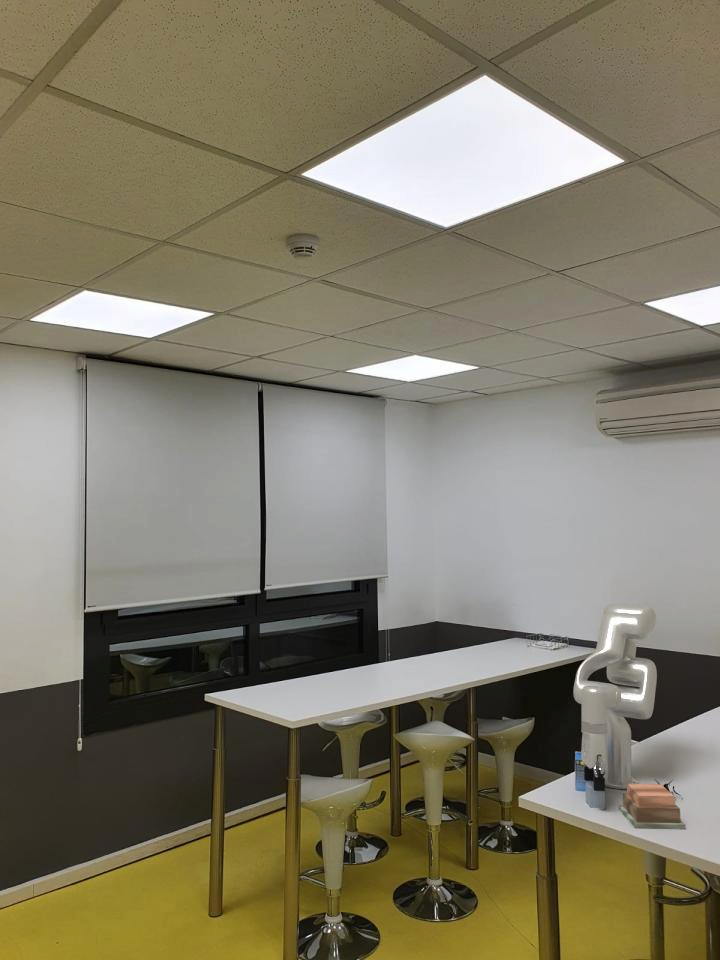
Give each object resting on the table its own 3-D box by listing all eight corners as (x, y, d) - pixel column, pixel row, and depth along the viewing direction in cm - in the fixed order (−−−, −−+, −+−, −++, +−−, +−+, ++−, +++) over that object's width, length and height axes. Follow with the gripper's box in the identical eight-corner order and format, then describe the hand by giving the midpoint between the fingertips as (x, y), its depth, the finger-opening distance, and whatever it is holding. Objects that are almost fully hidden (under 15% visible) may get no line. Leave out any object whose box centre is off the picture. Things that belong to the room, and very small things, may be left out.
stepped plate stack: (618, 809, 219) (618, 781, 220) (665, 810, 219) (665, 782, 219) (635, 828, 205) (634, 798, 206) (685, 829, 205) (684, 799, 205)
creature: (686, 805, 226) (674, 791, 233) (687, 789, 225) (675, 775, 233) (661, 806, 225) (650, 791, 233) (662, 789, 224) (651, 775, 232)
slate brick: (585, 802, 224) (585, 780, 225) (600, 802, 224) (600, 780, 225) (590, 808, 220) (589, 785, 220) (605, 808, 220) (604, 785, 220)
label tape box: (603, 789, 236) (603, 750, 237) (604, 793, 232) (603, 754, 233) (575, 786, 238) (574, 748, 239) (575, 790, 234) (574, 751, 235)
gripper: (574, 720, 232) (574, 776, 230) (590, 734, 215) (590, 794, 213) (597, 721, 232) (598, 777, 230) (615, 735, 215) (616, 795, 213)
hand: (594, 785), depth 222 cm, fingers open, 9 cm apart
